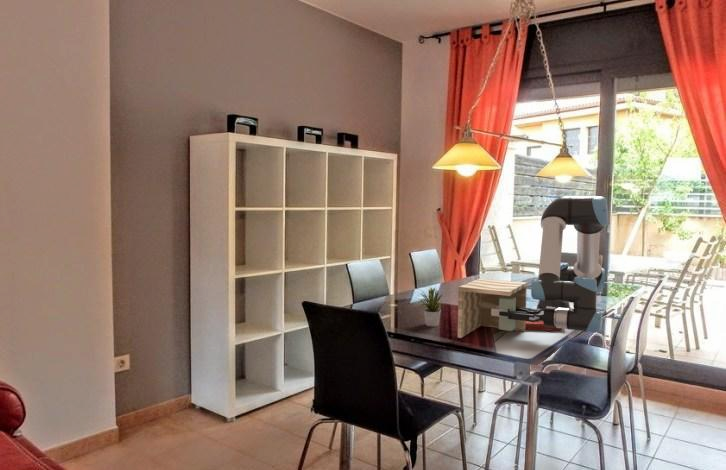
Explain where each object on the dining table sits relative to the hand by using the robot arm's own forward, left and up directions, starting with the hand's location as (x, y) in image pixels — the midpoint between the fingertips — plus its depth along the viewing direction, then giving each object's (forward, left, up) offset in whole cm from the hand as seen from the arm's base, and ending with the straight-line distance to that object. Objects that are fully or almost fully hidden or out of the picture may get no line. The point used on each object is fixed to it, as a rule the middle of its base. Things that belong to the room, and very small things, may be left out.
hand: (494, 310), depth 209 cm
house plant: (-3, -28, -10) cm, 30 cm away
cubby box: (-1, 0, -9) cm, 10 cm away
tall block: (0, +5, -6) cm, 8 cm away
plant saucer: (-25, +12, -10) cm, 29 cm away
